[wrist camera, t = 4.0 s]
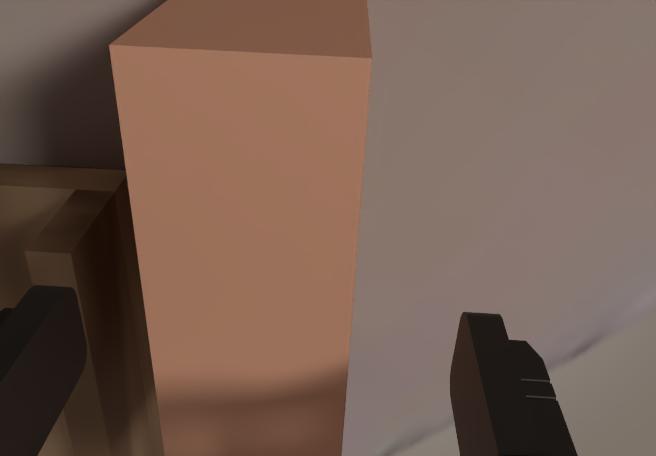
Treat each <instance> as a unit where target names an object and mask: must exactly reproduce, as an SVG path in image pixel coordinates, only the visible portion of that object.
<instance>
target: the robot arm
mask: <svg viewBox="0 0 656 456" xmlns="http://www.w3.org/2000/svg"><path fill="white" fill-rule="evenodd" d="M86 357H87V343H86V338H85V333H84V328H83V323H82V318H81V313H80V308H79V303H78V298H77V294H76V292H75V290H74V289H73V288H72V287H60V286H44V285H34V286H32V287H31V288H30V289H29V290H28V291H27V293H26V294H25V295H24V296H23V298H22V299H21V300H20V302H19V303H18V304H17V305H16V307H15V308H4V309H3V310H1V311H0V456H38V454H39V452H40V450H41V449H42V447H43V445H44V443H45V441H46V439H47V437H48V436H49V434H50V432H51V430H52V428H53V426H54V425H55V423H56V421H57V419H58V417H59V415H60V414H61V412H62V410H63V408H64V406H65V404H66V402H67V401H68V399H69V397H70V395H71V393H72V391H73V390H74V388H75V386H76V384H77V382H78V380H79V379H80V377H81V375H82V373H83V370H84V367H85V363H86ZM450 396H451V403H452V409H453V415H454V421H455V427H456V433H457V439H458V445H459V450H460V456H578V455H577V453H576V450H575V447H574V445H573V442H572V439H571V437H570V433H569V431H568V428H567V425H566V422H565V420H564V417H563V414H562V411H561V409H560V406H559V403H558V401H556V395H555V392H554V389H553V387H552V384H550V378H549V375H548V373H547V370H546V367H545V364H544V362H543V359H542V358H541V357H540V356H539V355H538V354H537V353H536V351H535V350H534V349H533V348H532V347H531V346H530V345H529V344H528V343H527V342H526V341H519V340H509V339H508V336H507V332H506V329H505V326H504V322H503V319H502V317H501V315H500V314H487V313H471V312H463V313H462V315H461V318H460V323H459V328H458V334H457V339H456V344H455V350H454V355H453V360H452V366H451V373H450Z"/></svg>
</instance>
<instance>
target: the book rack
mask: <svg viewBox="0 0 656 456" xmlns="http://www.w3.org/2000/svg"><path fill="white" fill-rule="evenodd" d="M34 285H44V286H60V287H72V288H73V289H74V290H75V292H76V294H77V298H78V303H79V308H80V313H81V318H82V323H83V328H84V333H85V338H86V343H87V357H86V363H85V367H84V370H83V373H82V375H81V377H80V379H79V380H78V382H77V384H76V386H75V388H74V390H73V391H72V393H71V395H70V397H69V399H68V401H67V402H66V404H65V406H64V408H63V410H62V412H61V414H60V415H59V417H58V419H57V421H56V423H55V425H54V426H53V428H52V430H51V432H50V434H49V436H48V437H47V439H46V441H45V443H44V445H43V447H42V449H41V450H40V452H39V454H38V456H165V455H164V448H163V440H162V433H161V425H160V418H159V411H158V403H157V396H156V388H155V381H154V374H153V366H152V359H151V351H150V344H149V337H148V329H147V322H146V315H145V307H144V300H143V292H142V285H141V278H140V270H139V263H138V255H137V248H136V241H135V233H134V226H133V218H132V211H131V204H130V196H129V189H128V181H127V174H126V170H112V169H93V168H74V167H54V166H35V165H16V164H0V311H1V310H3V309H4V308H15V307H16V305H17V304H18V303H19V302H20V300H21V299H22V298H23V296H24V295H25V294H26V293H27V291H28V290H29V289H30V288H31V287H32V286H34Z"/></svg>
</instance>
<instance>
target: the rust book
mask: <svg viewBox="0 0 656 456" xmlns="http://www.w3.org/2000/svg"><path fill="white" fill-rule="evenodd" d="M109 48H110V56H111V63H112V71H113V78H114V85H115V93H116V100H117V108H118V115H119V122H120V130H121V137H122V145H123V152H124V159H125V167H126V174H127V181H128V189H129V196H130V204H131V211H132V218H133V226H134V233H135V241H136V248H137V255H138V263H139V270H140V278H141V285H142V292H143V300H144V307H145V315H146V322H147V329H148V337H149V344H150V351H151V359H152V366H153V374H154V381H155V388H156V396H157V403H158V411H159V418H160V425H161V433H162V440H163V448H164V455H165V456H341V453H342V440H343V428H344V415H345V402H346V389H347V376H348V363H349V350H350V337H351V324H352V312H353V299H354V286H355V273H356V260H357V247H358V234H359V221H360V208H361V196H362V183H363V170H364V157H365V144H366V131H367V118H368V105H369V93H370V80H371V67H372V51H371V41H370V30H369V19H368V8H367V0H167V1H166V2H164V3H163V4H162V5H160V6H159V7H158V8H156V9H155V10H154V11H153V12H151V13H150V14H149V15H147V16H146V17H145V18H143V19H142V20H141V21H139V22H138V23H137V24H136V25H134V26H133V27H132V28H130V29H129V30H128V31H126V32H125V33H124V34H123V35H121V36H120V37H119V38H117V39H116V40H115V41H113V42H112V43H111V44H110V45H109Z"/></svg>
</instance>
